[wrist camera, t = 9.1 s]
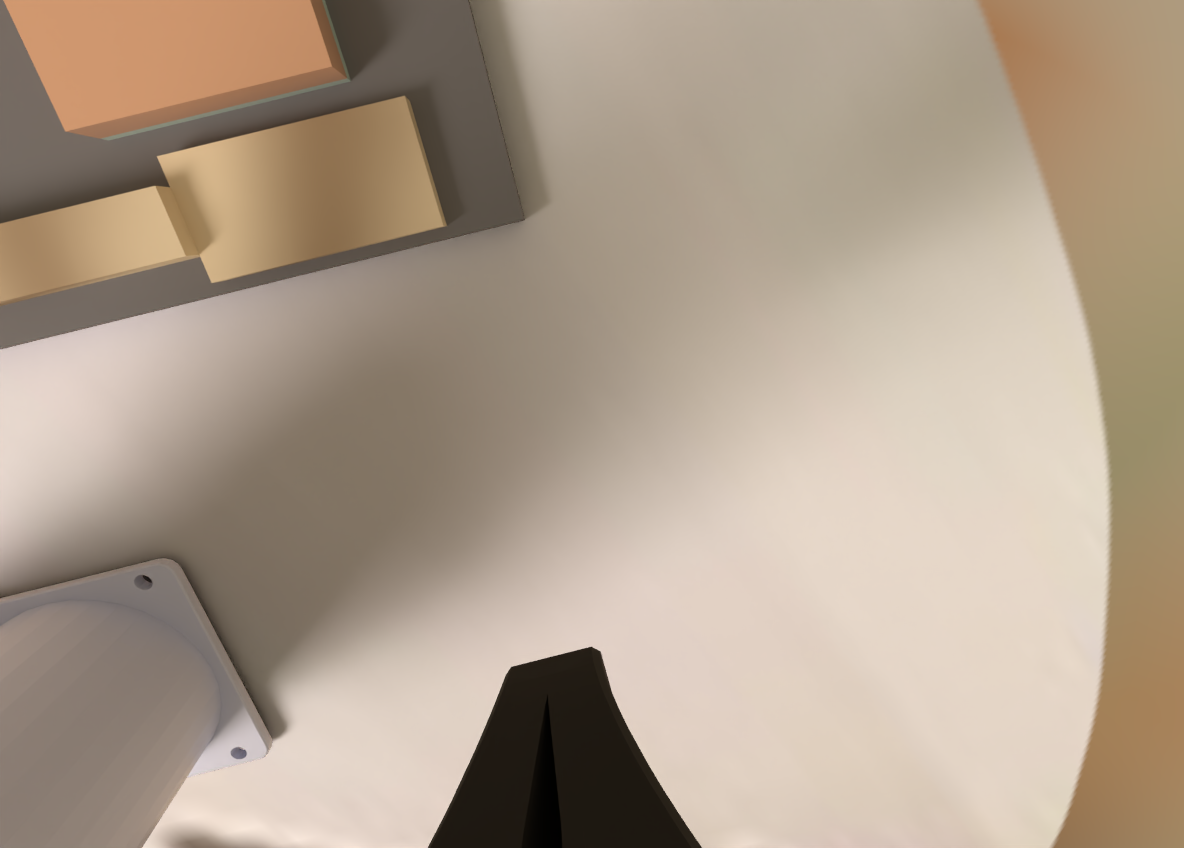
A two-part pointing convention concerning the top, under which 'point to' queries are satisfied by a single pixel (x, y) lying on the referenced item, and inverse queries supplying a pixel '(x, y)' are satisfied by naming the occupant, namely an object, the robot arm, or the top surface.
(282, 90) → the tile
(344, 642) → the top surface
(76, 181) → the mat
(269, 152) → the light wooden plank
